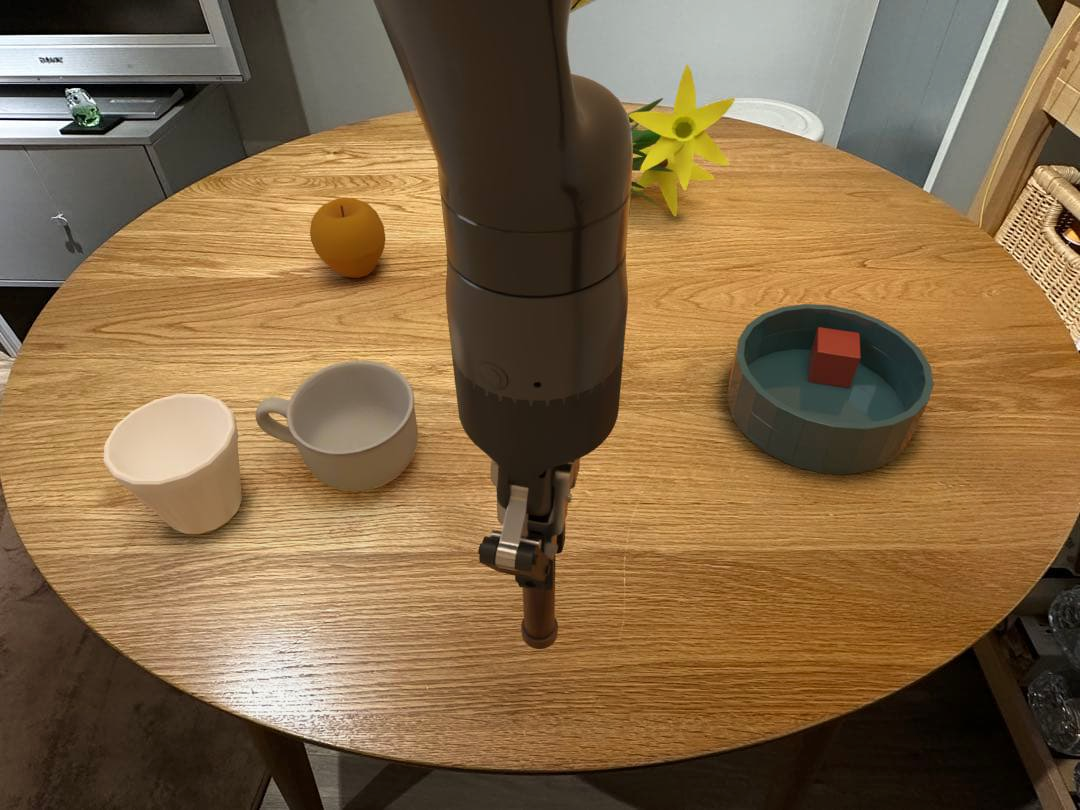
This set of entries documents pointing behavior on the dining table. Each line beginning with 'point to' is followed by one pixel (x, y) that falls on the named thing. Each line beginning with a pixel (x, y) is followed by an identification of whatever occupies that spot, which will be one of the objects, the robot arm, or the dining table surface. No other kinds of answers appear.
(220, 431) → the cup
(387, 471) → the teacup
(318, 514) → the dining table surface
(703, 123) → the daffodil flowers
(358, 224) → the apple
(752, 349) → the bowl
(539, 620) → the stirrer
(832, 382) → the block
